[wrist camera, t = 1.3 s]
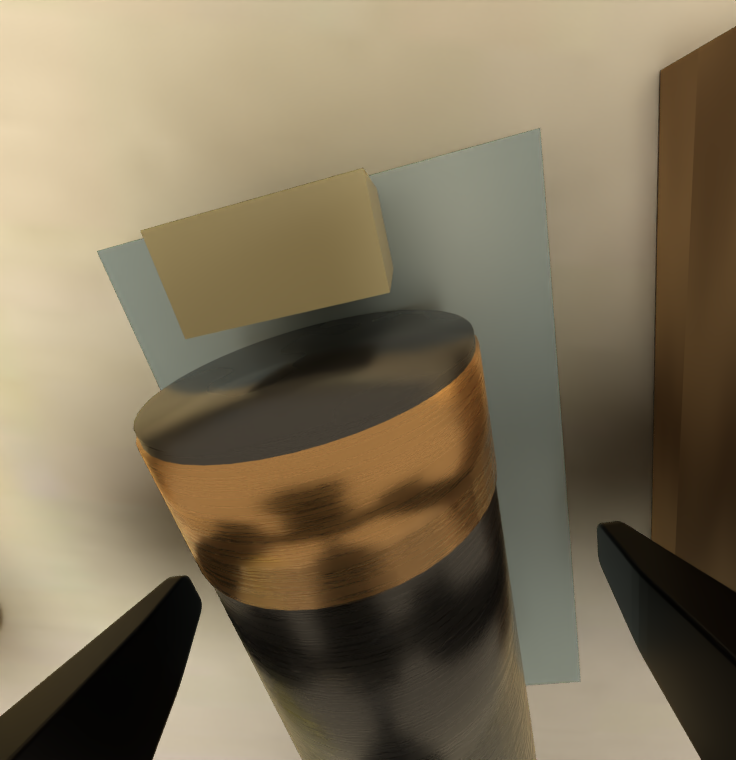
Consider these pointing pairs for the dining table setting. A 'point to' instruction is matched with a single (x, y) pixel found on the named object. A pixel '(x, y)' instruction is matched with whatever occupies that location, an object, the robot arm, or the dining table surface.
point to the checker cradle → (391, 293)
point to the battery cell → (354, 532)
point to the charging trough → (697, 312)
